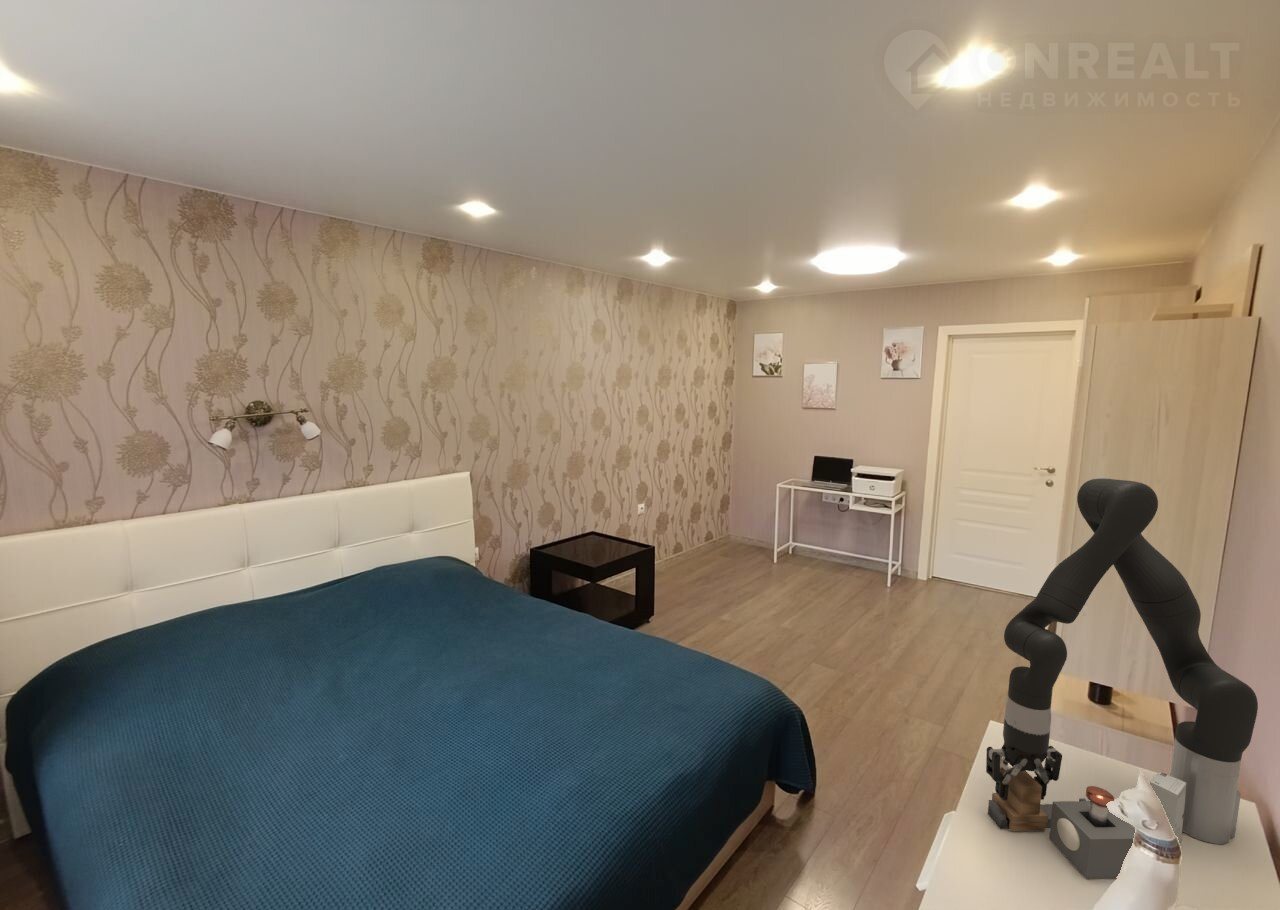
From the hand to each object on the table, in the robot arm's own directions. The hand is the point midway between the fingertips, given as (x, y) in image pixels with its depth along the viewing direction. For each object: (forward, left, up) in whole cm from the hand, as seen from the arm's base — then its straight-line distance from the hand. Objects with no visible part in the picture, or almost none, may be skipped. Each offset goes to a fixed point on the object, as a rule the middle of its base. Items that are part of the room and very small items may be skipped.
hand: (1019, 796), depth 113 cm
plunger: (-8, +9, +1) cm, 12 cm away
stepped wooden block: (0, 0, -5) cm, 5 cm away
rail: (-5, 0, -5) cm, 7 cm away
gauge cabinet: (-8, +9, -5) cm, 13 cm away
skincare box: (-25, +5, -6) cm, 26 cm away
